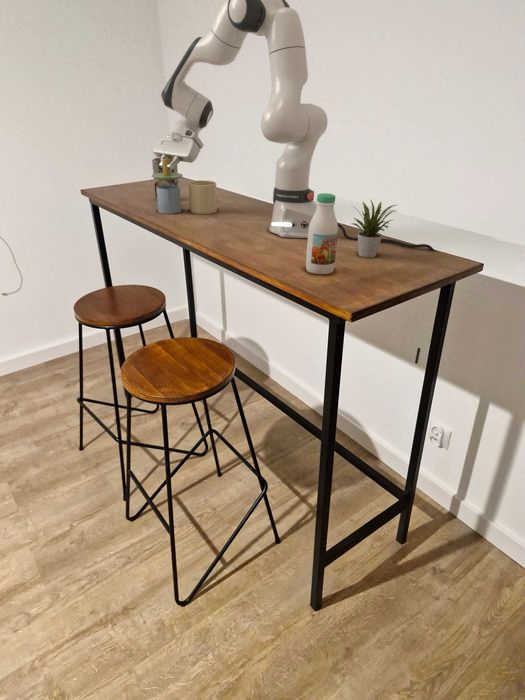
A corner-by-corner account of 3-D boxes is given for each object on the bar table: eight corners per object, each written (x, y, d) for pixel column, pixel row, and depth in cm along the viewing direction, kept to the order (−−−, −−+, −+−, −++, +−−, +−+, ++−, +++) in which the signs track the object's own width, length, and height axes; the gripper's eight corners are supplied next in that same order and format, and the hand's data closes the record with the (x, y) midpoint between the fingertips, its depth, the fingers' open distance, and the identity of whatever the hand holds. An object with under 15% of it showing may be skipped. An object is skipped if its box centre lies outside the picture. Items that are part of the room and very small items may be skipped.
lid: (187, 176, 182) (186, 158, 179) (175, 181, 172) (174, 162, 169) (160, 174, 184) (158, 156, 181) (146, 179, 175) (145, 160, 172)
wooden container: (220, 209, 189) (219, 181, 184) (211, 214, 181) (210, 186, 176) (195, 206, 192) (194, 179, 186) (186, 212, 183) (184, 184, 178)
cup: (184, 209, 187) (183, 185, 183) (175, 214, 180) (174, 190, 175) (164, 207, 189) (162, 184, 185) (154, 212, 181) (152, 188, 177)
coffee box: (179, 197, 206) (177, 158, 198) (176, 201, 200) (173, 160, 192) (159, 196, 207) (156, 157, 199) (154, 200, 201) (151, 159, 193)
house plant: (404, 256, 142) (414, 200, 134) (378, 266, 133) (387, 207, 125) (365, 245, 151) (372, 192, 143) (338, 254, 142) (344, 198, 134)
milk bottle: (300, 271, 128) (305, 195, 118) (314, 263, 134) (319, 190, 124) (325, 277, 125) (333, 199, 115) (338, 269, 130) (346, 194, 120)
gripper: (159, 129, 181) (142, 158, 179) (197, 133, 170) (179, 164, 168) (169, 140, 186) (152, 169, 184) (207, 145, 175) (189, 176, 173)
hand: (165, 167), depth 176 cm, fingers closed on lid, 3 cm apart
